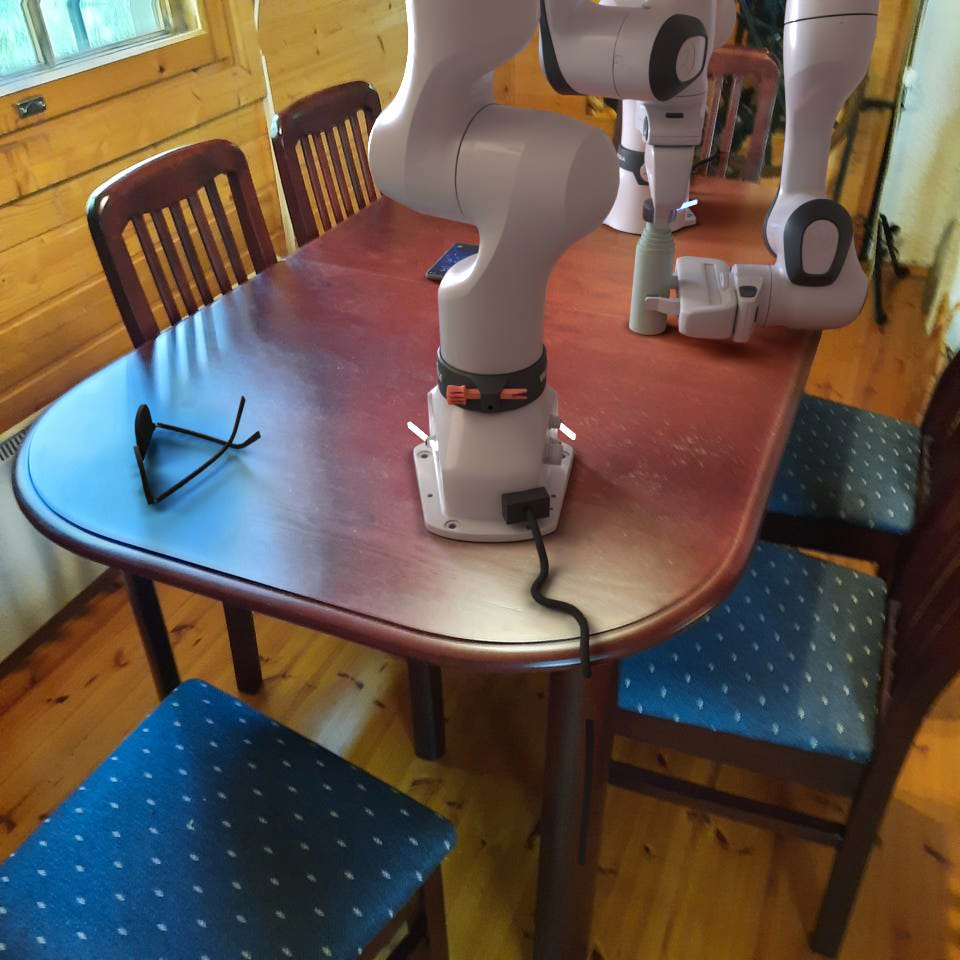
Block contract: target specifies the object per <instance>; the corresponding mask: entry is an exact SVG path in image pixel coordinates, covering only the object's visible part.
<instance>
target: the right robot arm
mask: <svg viewBox="0 0 960 960" xmlns="http://www.w3.org/2000/svg"><path fill="white" fill-rule="evenodd" d="M645 2H646V0H599V2H597V4H600V5H606V6H620V7H633V8H637V7H641V8H644V7H642V6H641V5H642V4H644V3H645ZM736 7H737V6H736V2H735V0H717V10H716V27H715V38H714V45H713V51H715V50H717V49H719V48H722V47H723V46H725V45H726V44H727V42H729V40H730V38H731V37H732V34H733V33H734V30H735V27H736V21H737V8H736ZM879 9H880V0H786V2H785V11H784V22H783V24H784V26H783V40H782V41H783V43H782V45H783V46H782V50H783V51H782V58H783V59H782V61H783V62H782V63H783V78H784V79H783V80H784V97H785V99H784V100H785V101H784V102H785V125H784V126H785V127H784V138H783V147H782V156H781V165H780V176H779V182H778V188H777V190H776V193H775V196H774V198H773V200H772V202H771V203H770V205H769V208H768V210H767V212H766V214H765V217H764V219H763V222H762V229H761V235H762V236H761V237H762V241H763V244H764V246H765V249H766V250H767V252H768V253H769V254H770V255H771V256H772V257H773V258H774V259H776V260H775V263H774V264H756V263H755V264H753V263H752V264H750V263H734V264H733V265H732V267H731V266H730V265H729V264H728V263H727V262H726V261H725V260H722V259H720V258H719V259H718V258H714V257H706V256H705V257H704V256H695V255H694V256H692V255H683V256H680V257H677V258H676V260H675V266H674V271H673V272H672V280H671V289H670V290H675V297H674V296H672V297H671V298H669V299H668V298H663V297H658V294H653V295H651V294H647V295H646V297H645V309H646V310H657V311H659V312H662V313H665V314H667V316H677V324H678V332H679V333H680V334H682V335H683V336H687V337H689V338H694V339H695V338H696V339H705V340H706V339H707V340H727V339H730V338H731V340H732V341H733V342H735V343H747V342H749V340H750V338H751V336H752V334H753V332H754V331H755V329H768V328H771V327H782V328H787V329H789V330H795V331H826V330H837V329H843V328H845V327H847V326H850V325H851V324H852V323H854V321H855V320H856V319H857V318H858V317H859V316H860V314H861V312H862V311H863V309H864V306H865V304H866V301H867V299H868V293H869V278H868V276H867V274H866V273H865V271H864V270H863V268H862V266H861V264H860V261H859V258H858V254H857V251H856V247H855V246H856V245H855V239H854V238H855V237H854V222H853V219H852V217H851V215H850V213H849V211H848V210H847V209H846V208H845V206H843V205H842V204H841V203H839V202H837V201H835V200H833V199H829V198H828V195H827V189H826V183H827V176H828V167H829V160H830V151H831V150H830V149H831V144H832V143H831V142H832V136H833V130H834V126H835V124H836V121H837V118H838V115H839V114H840V111H841V110H842V108H843V106H844V105H845V103H846V101H847V100H848V99H849V97H850V96H851V95H852V94H853V93H854V91H855V90H856V89H857V87H858V86H859V85H860V84H861V83H862V81H863V80H864V78H865V77H866V75H867V72H868V68H869V65H870V62H871V58H872V54H873V50H874V47H875V41H876V36H877V30H878V21H879V17H878V16H879ZM635 101H636V100H629V99H628V100H622V123H621V139H620V140H621V141H620V142H619V143H618V148H617V151H616V153H617V156H618V160H619V166H620V184H619V190H618V194H617V198H616V201H615V203H614V206H613V208H612V209H611V211H610V213H609V215H608V216H607V218H606V219H605V220H604V222H603V223H602V224H603V225H607V226H609V227H611V228H613V229H615V230H618V231H621V232H624V233H627V234H628V233H629V234H634V235H635V234H636V235H642V232H643V231H644V228H645V227H646V223H647V222H646V221H644V220H643V216H642V214H643V205H644V201H645V200H647V199H649V198H651V191H650V186H649V181H648V176H647V172H646V167H645V146H646V143H645V142H643V140H642V134H641V132H640V131H638V130H636V129H635V128H634V113H635ZM720 152H721V151H720V147H717V146H716V147H715V148H714V151H713V154H712V155H711V156H708V157H706V158H703V159H701V160H698V161H697V162H695V163H692V168H691V173H690V176H691V175H692V173H693V172H694V170H695V169H696V168H698V167H700V166H702V165H705V164H708V163H710V162H711V161H713V160H715V159H716V158H717V157H718V154H720ZM690 187H691V177H690V178H689V183H688V188H687V193H686V197H685V200H684V203H683V206H682V207H681V208H680V209H677V211H676V218H675V221H673V222H671V223H670V229H671V233H673V232H675V231H678V230H680V229H682V228H684V227H689V226H694V225H696V224H697V217H696V216H695V214H694V213H693V211H692V210H691V209H690V207H691V206H694V205H697V204H698V199H694V200H691V201H689V199H690V189H691V188H690Z"/></svg>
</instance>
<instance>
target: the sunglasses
mask: <svg viewBox="0 0 960 960" xmlns="http://www.w3.org/2000/svg"><path fill="white" fill-rule="evenodd" d="M245 404H246V398H245V396H244V395H241V396H240V401H239V405H238V408H237V409H238V410H237V413H236V417H235V421H234V425H233V429H232V432H231V435H230V437H229V439H228V440H227V441H226V440H223V439H220V438H217V437H214V436H211V435H208V434H204V433H201V432H198V431H195V430H192V429H188V428H184V427H180V426H176V425H172V424H169V423H164V422H159V421H157V422H153V418H152V414H151V411H150V408H149V406H148V404H146V403H142V404H140V405H139V406H138V409H137V411H136V413H135V418H134V436H135V444H136V445H133V447H132V448H133V452H134V455H135V460H136V463H137V467H138V471H139V475H140V479H141V485H142V489H143V493H144V497H145V500H146V503H147V505H148V506H151V505H154V504H155V501H156V503H157V504H160V503H162V501H164V500H165V499H167V498H168V497H170V496H171V495H172V494H174V493H175V492H177V491H178V490H179V489H181V488H182V487H184V486H185V485H187V484H188V483H189V482H191V481H192V480H193V479H194V478H196V477H197V476H198V475H200V474H202V473H203V472H204V471H205V470H206V469H208V467H210V466H211V465H212V464H213V463H215V462H216V461H217V460H218V459H220V457H222V455H223V454H224V453H225V452H226V451H228V449H229V448H231V449H233V450H242V449H246V448H247V447H249V446H250V445H252V444H254V443H255V442H256V441H258V440H260V439H261V438H262V435H261V432H260V430H256V431H255V432H254V433H253V434H252V435H250V436H249V437H248V438H247V439H246V440H245V441H244V442H241V443H233V442H234V441H235V438H236V435H237V434H238V429H239V426H240V423H241V419H242V415H243V412H244V409H245ZM157 428H160V429H164V430H168V431H172V432H175V433H179V434H183V435H188V436H191V437H195V438H199V439H202V440H205V441H209V442H211V443H215V444H218V445H221V446H223V447H221V449H220V450H219V451H217V452H216V453H215V454H214V455H213V456H212V457H211V458H209V459H208V460H207V461H206V462H204V463H203V464H202V465H200V466H199V467H198V468H196V469H195V470H193V471H192V472H191V473H189V474H188V475H187V476H186V477H184V478H183V479H180V481H178V482H177V483H176V484H174V485H172V486H171V487H169V488H168V489H166V490H165V491H163V492H162V493H161V494H160V495H158V496H157V497H154V495H152V491H151V487H150V484H149V479H148V474H147V470H146V467H145V463H144V461H145V459H146V456H147V453H148V450H149V448H150V445H151V442H152V438H153V435H154V432H155V430H157Z"/></svg>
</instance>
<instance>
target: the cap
mask: <svg viewBox="0 0 960 960" xmlns="http://www.w3.org/2000/svg"><path fill="white" fill-rule="evenodd" d="M676 211H677V209H673V210H670V214H669V217H668V223H671V222H673V221H675V218H676ZM654 212H655V208H654V205H653V200H652V198H649V199H647V200H645V201H644V205H643V214H642V216H643V220H644V221H646V222H649V223H653V220H654Z"/></svg>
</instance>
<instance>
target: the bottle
mask: <svg viewBox="0 0 960 960" xmlns="http://www.w3.org/2000/svg"><path fill="white" fill-rule="evenodd" d="M674 241H675V240H674V236H673V232H671V229H670V223H668V225H667V228H665V229H656V228H654V224H653V223H649V222H647V223H646V227H645V228H644V231H643V232H642V234H641V236H640V237H639V239H638V240H637V244H636V247H635V257H634V269H633V279H632V291H631V302H630V313H629V323H628V327H629V329H630V330H631V331H632V332H634V333H635V334H639V335H645V336H654V335H659V334H661V333H664V332H665V331H666V329H667V322H668V314H665V313H662V312H659V311H657V310H646V309H645V297H646V295H647V294H651V295H653V294H658V297H663V298H668V299H670V297H671V290H672V289H671V280H672V272H674V271H673V270H674V263H675V254H676V243H675V242H674Z"/></svg>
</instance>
